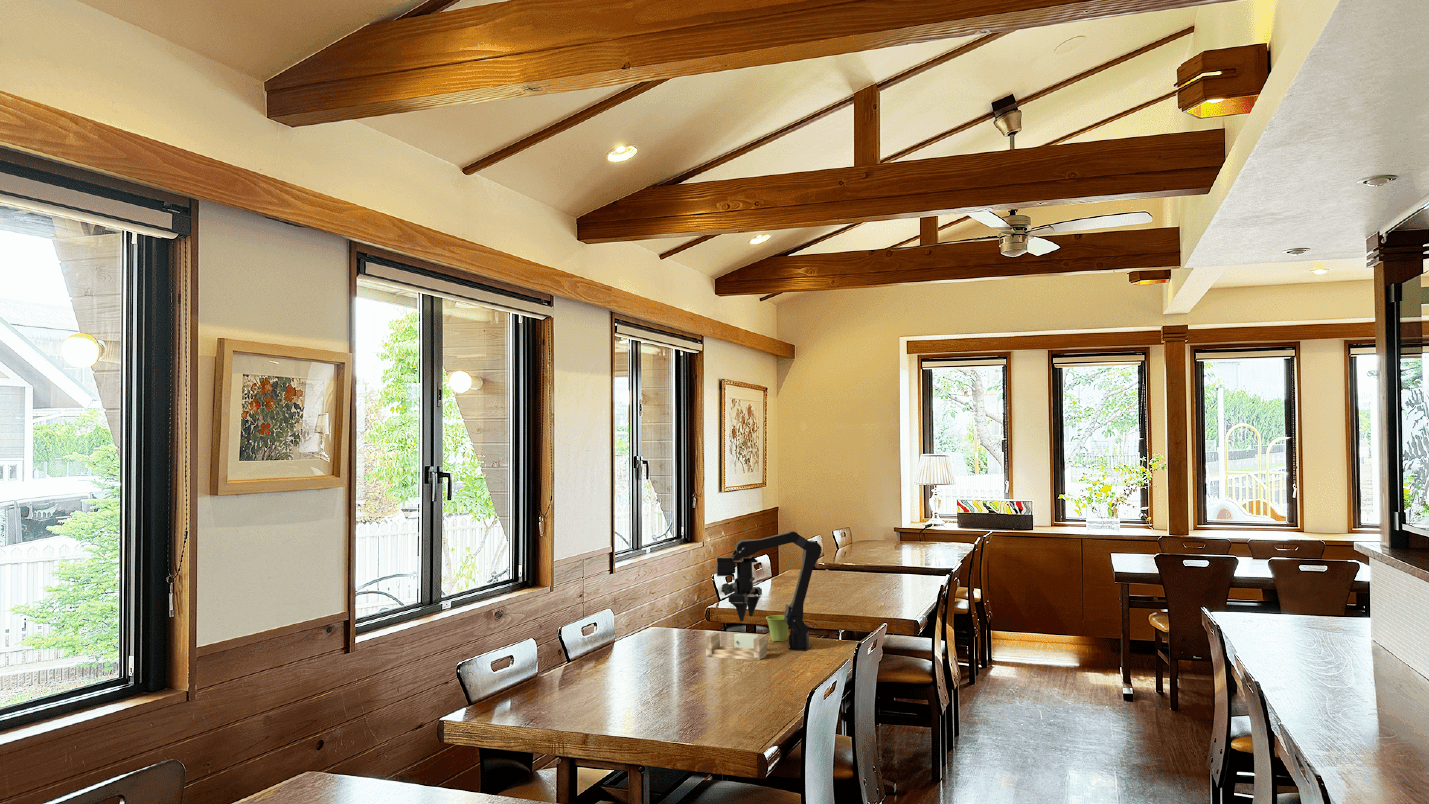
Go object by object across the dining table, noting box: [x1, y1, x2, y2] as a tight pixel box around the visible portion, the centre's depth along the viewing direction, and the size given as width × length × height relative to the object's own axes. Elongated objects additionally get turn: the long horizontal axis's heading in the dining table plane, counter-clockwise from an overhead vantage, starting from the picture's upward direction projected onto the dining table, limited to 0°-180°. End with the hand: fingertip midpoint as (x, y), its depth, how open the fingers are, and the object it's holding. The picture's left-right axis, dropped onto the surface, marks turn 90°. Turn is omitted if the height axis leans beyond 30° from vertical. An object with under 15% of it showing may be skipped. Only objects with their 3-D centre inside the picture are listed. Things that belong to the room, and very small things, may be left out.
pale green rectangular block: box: [733, 633, 761, 648], centre depth 325 cm, size 9×3×6 cm, turn 67°
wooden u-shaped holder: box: [705, 631, 768, 661], centre depth 319 cm, size 20×8×7 cm, turn 67°
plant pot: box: [765, 614, 789, 642], centre depth 343 cm, size 9×9×9 cm
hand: (746, 618), depth 326 cm, fingers open, 9 cm apart
